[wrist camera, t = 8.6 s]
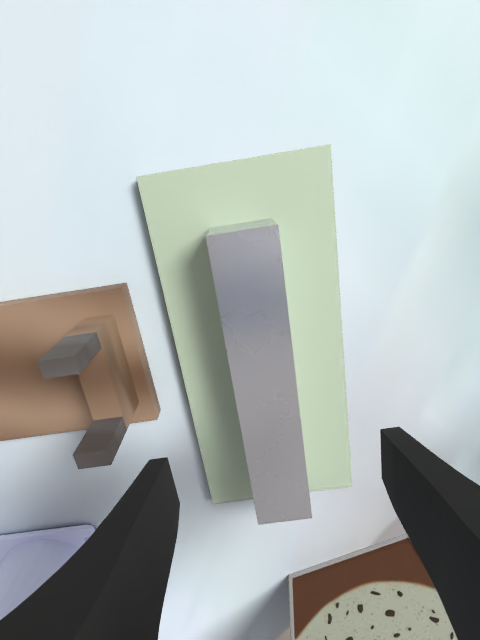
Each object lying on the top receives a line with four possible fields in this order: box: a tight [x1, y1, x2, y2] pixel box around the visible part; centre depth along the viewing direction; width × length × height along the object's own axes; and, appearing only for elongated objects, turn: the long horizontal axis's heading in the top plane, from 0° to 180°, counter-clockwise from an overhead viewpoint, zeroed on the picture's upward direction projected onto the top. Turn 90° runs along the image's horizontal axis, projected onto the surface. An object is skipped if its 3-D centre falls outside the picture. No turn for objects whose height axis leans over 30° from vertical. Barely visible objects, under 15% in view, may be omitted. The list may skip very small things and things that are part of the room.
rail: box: [206, 218, 312, 525], centre depth 19 cm, size 16×3×3 cm, turn 9°
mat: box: [136, 144, 352, 504], centre depth 21 cm, size 20×9×1 cm, turn 9°
